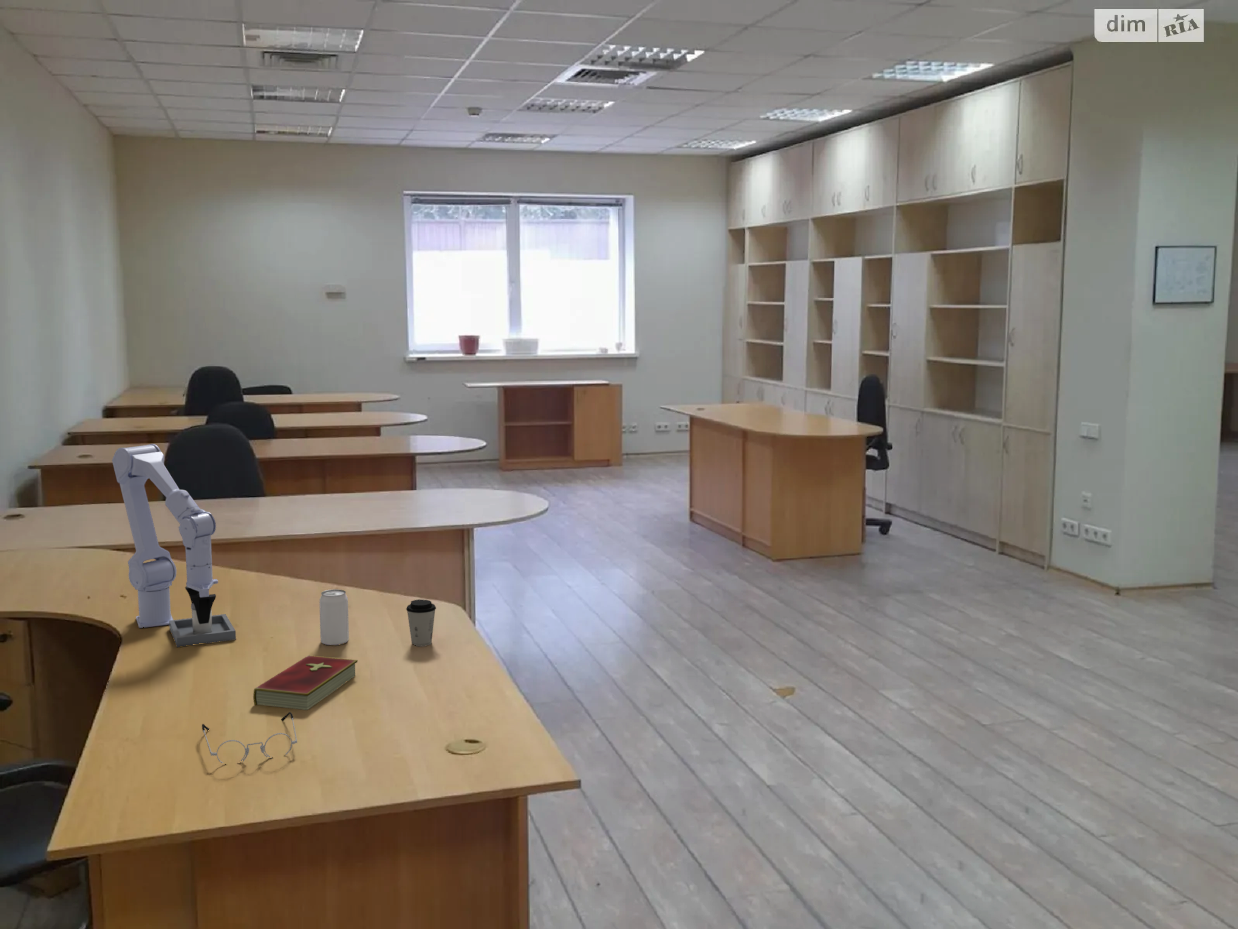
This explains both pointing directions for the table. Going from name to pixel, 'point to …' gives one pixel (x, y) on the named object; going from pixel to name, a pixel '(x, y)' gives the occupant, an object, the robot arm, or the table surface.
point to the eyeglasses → (253, 743)
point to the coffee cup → (421, 621)
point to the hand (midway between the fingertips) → (201, 619)
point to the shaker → (200, 627)
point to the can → (334, 617)
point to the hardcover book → (305, 682)
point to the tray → (220, 632)
